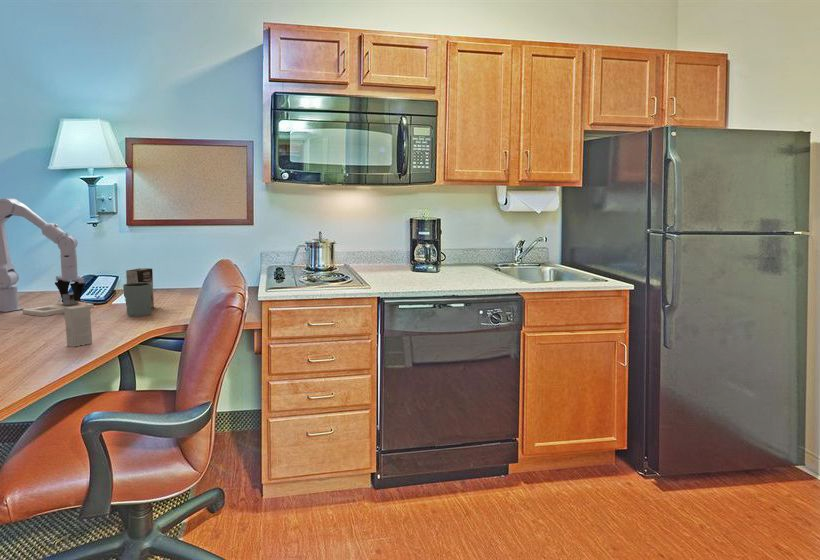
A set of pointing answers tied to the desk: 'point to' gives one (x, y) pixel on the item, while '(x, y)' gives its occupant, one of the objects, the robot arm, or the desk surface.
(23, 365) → the desk surface
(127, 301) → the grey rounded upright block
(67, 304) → the dark grey block
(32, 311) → the board with square holes
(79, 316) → the skincare box
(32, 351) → the desk surface
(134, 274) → the coffee box
